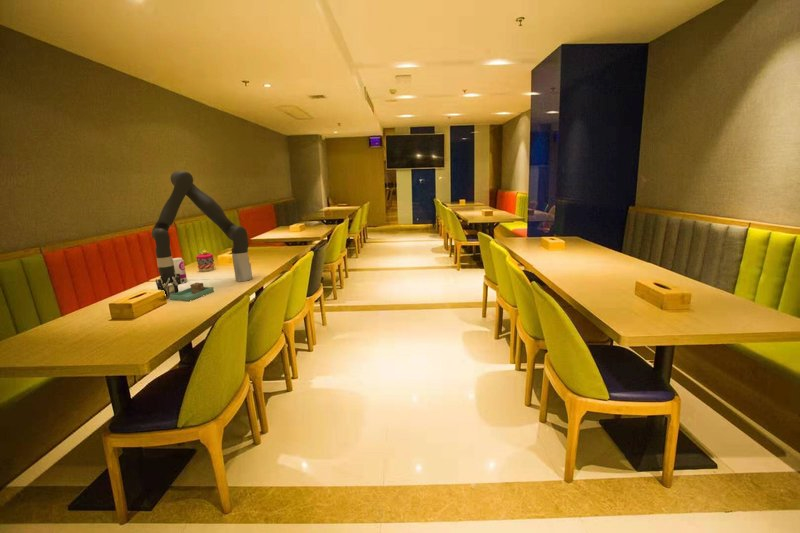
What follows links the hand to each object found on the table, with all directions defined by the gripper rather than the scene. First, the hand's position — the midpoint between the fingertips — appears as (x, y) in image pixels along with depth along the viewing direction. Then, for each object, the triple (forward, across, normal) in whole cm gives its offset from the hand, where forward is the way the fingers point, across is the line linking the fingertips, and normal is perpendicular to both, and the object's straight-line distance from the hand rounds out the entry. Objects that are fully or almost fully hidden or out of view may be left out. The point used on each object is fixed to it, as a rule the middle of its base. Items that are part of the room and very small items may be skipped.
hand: (171, 294), depth 221 cm
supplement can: (+1, +25, +20) cm, 32 cm away
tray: (+1, +3, -12) cm, 12 cm away
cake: (+1, +55, +27) cm, 61 cm away
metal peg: (+1, 0, 0) cm, 1 cm away
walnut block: (0, +7, -12) cm, 14 cm away
